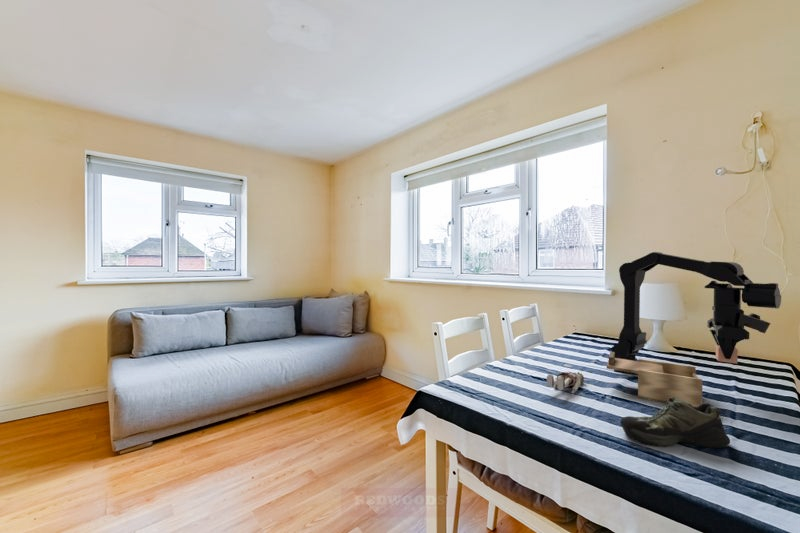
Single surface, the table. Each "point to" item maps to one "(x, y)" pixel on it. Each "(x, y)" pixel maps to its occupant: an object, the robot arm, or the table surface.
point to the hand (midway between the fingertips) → (726, 357)
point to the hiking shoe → (678, 426)
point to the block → (721, 357)
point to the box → (670, 383)
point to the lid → (631, 365)
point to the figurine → (565, 381)
